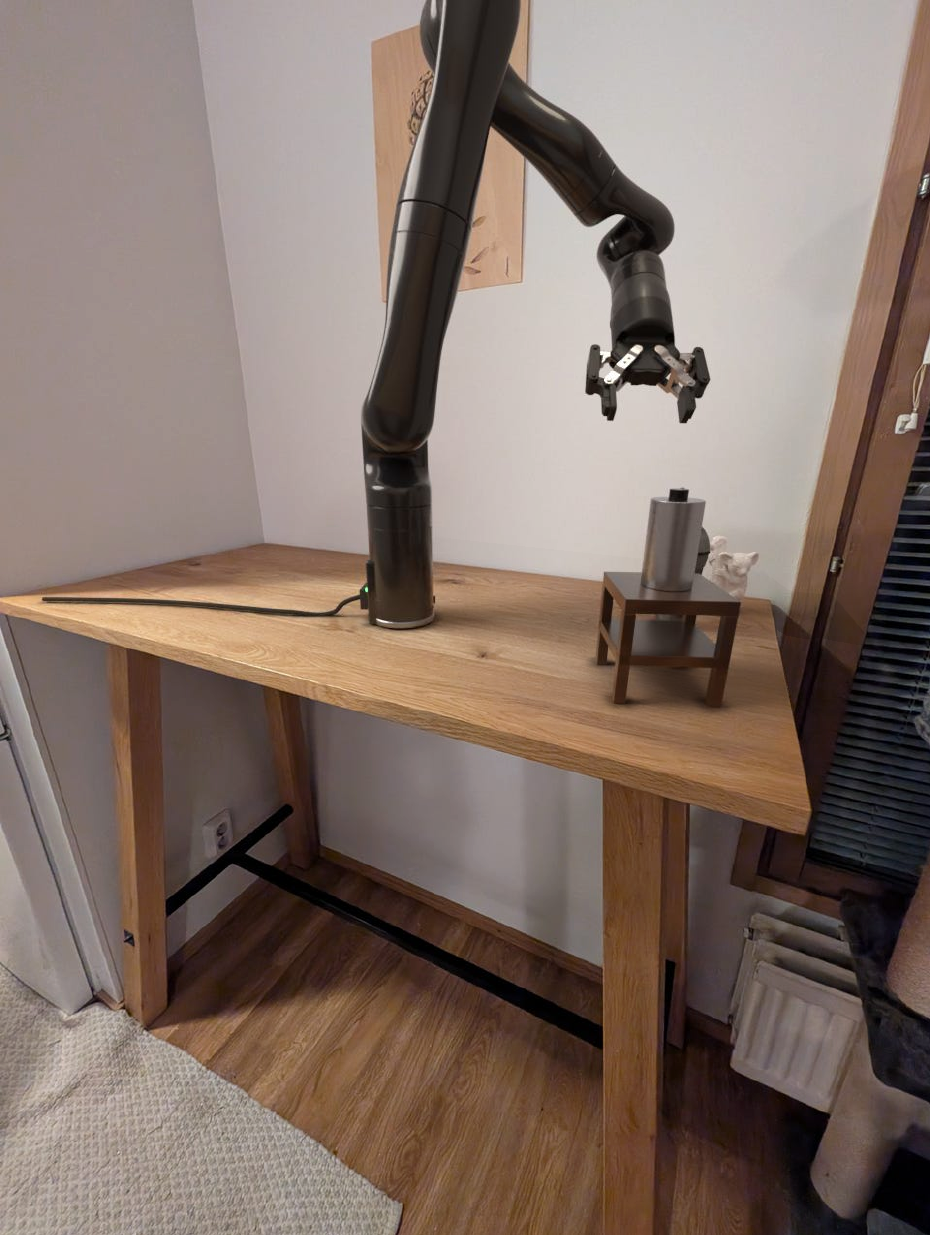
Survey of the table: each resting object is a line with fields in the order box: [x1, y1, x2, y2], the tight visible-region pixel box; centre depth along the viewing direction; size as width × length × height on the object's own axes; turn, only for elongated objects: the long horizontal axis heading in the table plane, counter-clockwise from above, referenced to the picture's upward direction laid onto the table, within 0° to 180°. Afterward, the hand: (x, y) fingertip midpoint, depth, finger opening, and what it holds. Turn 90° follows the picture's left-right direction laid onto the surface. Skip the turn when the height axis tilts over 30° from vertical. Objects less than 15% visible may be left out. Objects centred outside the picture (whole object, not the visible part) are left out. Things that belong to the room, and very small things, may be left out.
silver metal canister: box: [641, 488, 707, 592], centre depth 54 cm, size 5×5×10 cm
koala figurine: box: [708, 534, 760, 601], centre depth 81 cm, size 8×7×12 cm
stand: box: [594, 571, 742, 708], centre depth 57 cm, size 11×11×12 cm
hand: (648, 417), depth 61 cm, fingers open, 8 cm apart
